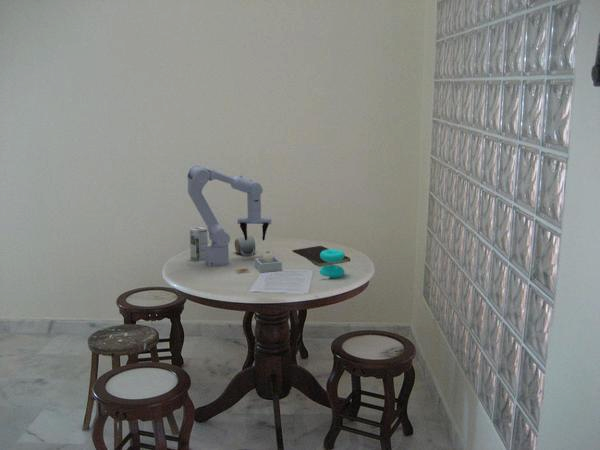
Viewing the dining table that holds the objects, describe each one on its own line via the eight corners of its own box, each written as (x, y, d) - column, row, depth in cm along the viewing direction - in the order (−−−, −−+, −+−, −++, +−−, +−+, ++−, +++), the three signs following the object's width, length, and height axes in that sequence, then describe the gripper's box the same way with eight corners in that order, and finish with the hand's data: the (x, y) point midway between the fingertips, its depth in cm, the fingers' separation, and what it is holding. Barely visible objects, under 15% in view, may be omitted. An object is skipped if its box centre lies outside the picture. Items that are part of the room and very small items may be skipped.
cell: (266, 268, 272) (266, 253, 271) (261, 266, 276) (261, 251, 274) (274, 267, 275) (274, 251, 273) (269, 265, 278) (269, 249, 276)
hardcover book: (319, 267, 282) (319, 262, 281) (292, 255, 301) (292, 250, 301) (350, 262, 290) (350, 257, 289) (322, 250, 309) (322, 245, 308)
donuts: (343, 255, 262) (318, 254, 264) (343, 279, 264) (318, 278, 266) (345, 248, 272) (321, 248, 273) (345, 272, 274) (321, 271, 276)
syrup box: (190, 260, 292) (188, 228, 289) (201, 257, 296) (199, 226, 293) (197, 262, 288) (196, 230, 285) (208, 260, 292) (207, 228, 289)
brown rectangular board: (236, 279, 265) (236, 276, 265) (229, 270, 277) (229, 267, 277) (284, 274, 271) (284, 271, 271) (275, 265, 283) (275, 262, 283)
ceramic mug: (234, 252, 305) (233, 235, 303) (250, 250, 308) (250, 234, 306) (241, 258, 295) (240, 241, 293) (258, 256, 298) (258, 239, 296)
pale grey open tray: (260, 272, 270) (260, 264, 269) (255, 266, 278) (254, 258, 277) (281, 270, 273) (281, 262, 272) (275, 264, 281) (275, 256, 280)
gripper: (236, 211, 282) (236, 241, 285) (269, 211, 281) (270, 242, 284) (238, 207, 289) (239, 237, 292) (271, 208, 288) (272, 238, 291)
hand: (254, 239), depth 289 cm, fingers open, 7 cm apart
